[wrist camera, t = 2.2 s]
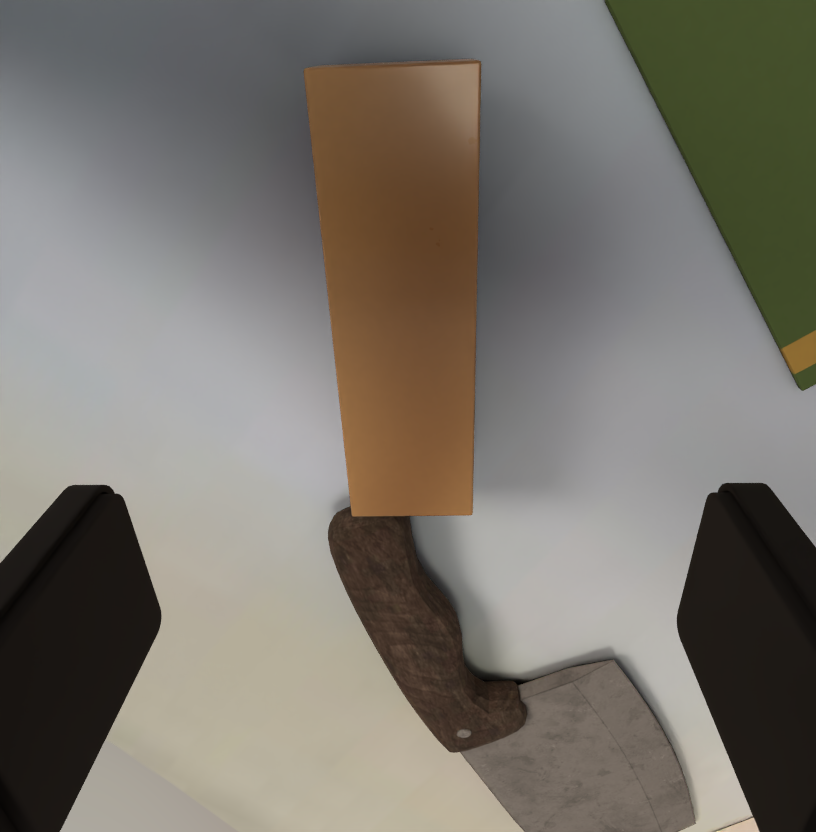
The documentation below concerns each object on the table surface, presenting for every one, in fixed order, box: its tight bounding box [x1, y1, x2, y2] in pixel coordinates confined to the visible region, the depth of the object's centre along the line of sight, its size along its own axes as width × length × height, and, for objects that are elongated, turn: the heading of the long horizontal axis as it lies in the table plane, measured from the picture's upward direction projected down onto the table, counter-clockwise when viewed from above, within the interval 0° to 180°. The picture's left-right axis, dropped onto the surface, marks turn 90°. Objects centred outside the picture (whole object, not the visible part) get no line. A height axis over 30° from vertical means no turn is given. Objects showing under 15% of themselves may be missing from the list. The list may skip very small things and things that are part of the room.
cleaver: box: [328, 507, 696, 832], centre depth 30 cm, size 29×10×2 cm, turn 29°
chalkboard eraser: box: [304, 59, 481, 516], centre depth 19 cm, size 4×13×4 cm, turn 2°
